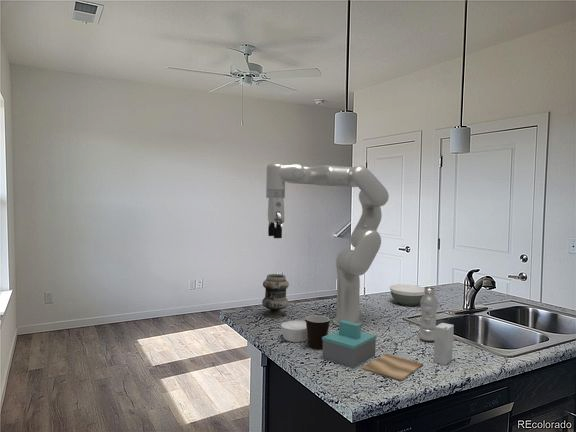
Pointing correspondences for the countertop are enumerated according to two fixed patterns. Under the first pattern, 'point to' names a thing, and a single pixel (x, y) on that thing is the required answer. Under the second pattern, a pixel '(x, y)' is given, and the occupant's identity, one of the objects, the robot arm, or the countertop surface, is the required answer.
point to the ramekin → (294, 331)
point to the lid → (349, 335)
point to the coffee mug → (316, 330)
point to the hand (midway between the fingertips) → (274, 237)
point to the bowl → (407, 294)
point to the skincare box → (443, 343)
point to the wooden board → (393, 367)
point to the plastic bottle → (428, 315)
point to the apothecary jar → (275, 295)
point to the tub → (348, 353)
